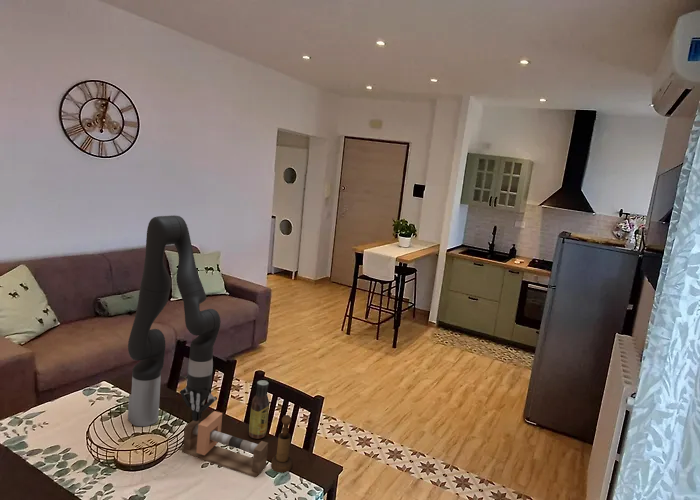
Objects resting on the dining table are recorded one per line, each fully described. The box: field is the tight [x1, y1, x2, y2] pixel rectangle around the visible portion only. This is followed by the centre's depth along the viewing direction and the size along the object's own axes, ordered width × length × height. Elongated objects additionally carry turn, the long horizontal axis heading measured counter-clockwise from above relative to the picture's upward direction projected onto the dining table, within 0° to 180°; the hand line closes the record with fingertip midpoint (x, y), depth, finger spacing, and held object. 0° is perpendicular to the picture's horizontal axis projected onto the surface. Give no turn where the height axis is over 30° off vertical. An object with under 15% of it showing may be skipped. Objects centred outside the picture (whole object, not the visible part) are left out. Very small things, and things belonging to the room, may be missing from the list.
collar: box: [196, 410, 223, 455], centre depth 155 cm, size 3×9×10 cm, turn 163°
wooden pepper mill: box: [270, 414, 293, 474], centre depth 153 cm, size 7×6×18 cm
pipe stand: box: [181, 420, 269, 478], centre depth 154 cm, size 27×7×9 cm, turn 73°
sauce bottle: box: [248, 379, 270, 440], centre depth 169 cm, size 7×6×20 cm
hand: (196, 419), depth 156 cm, fingers closed
